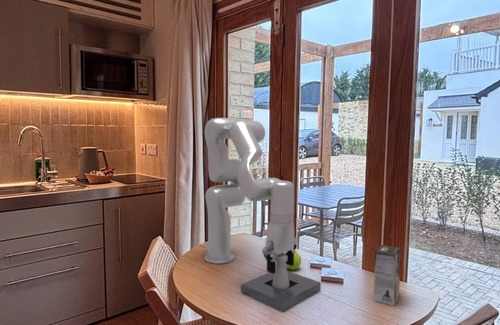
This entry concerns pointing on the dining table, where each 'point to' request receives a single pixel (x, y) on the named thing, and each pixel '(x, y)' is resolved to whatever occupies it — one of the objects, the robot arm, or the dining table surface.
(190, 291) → the dining table surface
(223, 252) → the robot arm
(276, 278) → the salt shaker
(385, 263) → the coffee box
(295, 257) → the tennis ball
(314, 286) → the grey square frame
